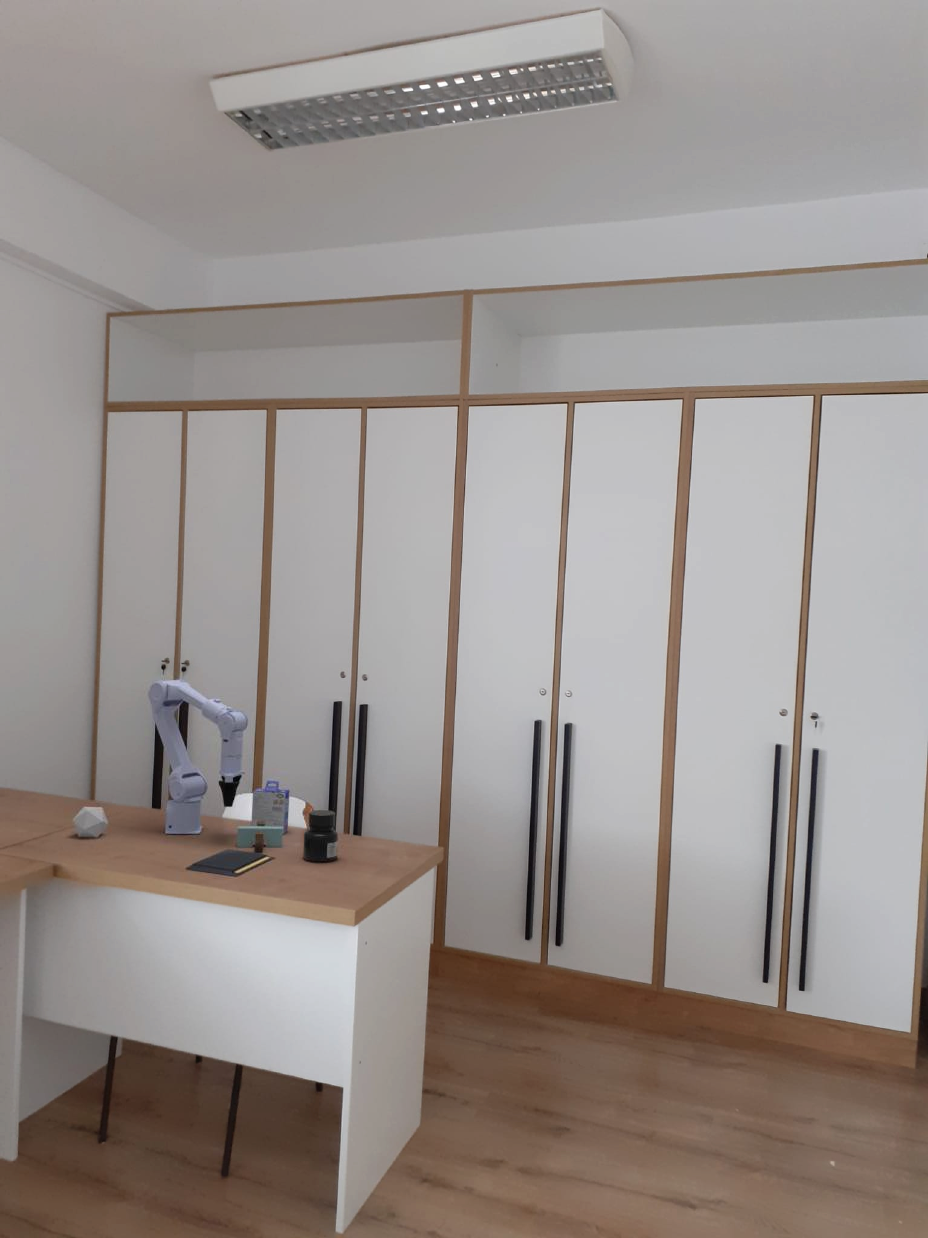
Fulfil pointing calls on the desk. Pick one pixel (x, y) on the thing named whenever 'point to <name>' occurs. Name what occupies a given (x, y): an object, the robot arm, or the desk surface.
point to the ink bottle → (321, 837)
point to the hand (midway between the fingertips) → (229, 803)
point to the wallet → (230, 862)
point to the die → (90, 822)
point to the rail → (259, 838)
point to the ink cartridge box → (271, 806)
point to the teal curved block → (270, 835)
